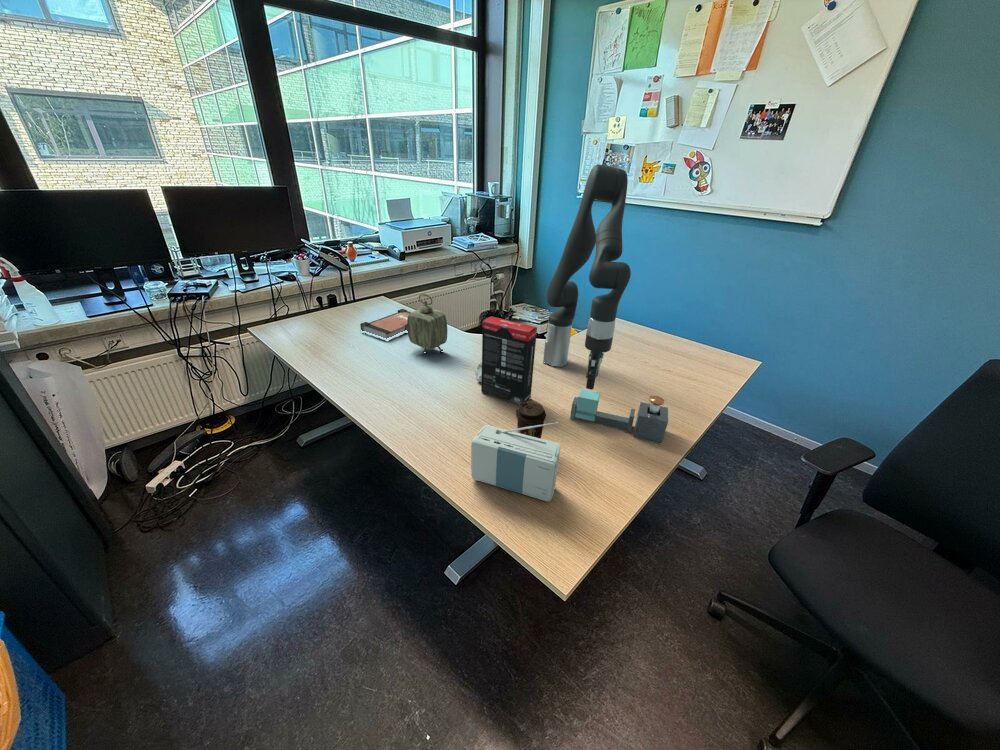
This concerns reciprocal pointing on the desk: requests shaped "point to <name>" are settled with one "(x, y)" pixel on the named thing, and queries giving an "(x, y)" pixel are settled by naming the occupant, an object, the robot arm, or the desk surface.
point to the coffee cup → (530, 418)
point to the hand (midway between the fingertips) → (591, 382)
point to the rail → (607, 418)
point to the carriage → (587, 404)
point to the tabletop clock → (427, 326)
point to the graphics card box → (507, 359)
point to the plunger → (655, 404)
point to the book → (388, 324)
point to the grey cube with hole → (651, 424)
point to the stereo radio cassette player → (515, 461)
